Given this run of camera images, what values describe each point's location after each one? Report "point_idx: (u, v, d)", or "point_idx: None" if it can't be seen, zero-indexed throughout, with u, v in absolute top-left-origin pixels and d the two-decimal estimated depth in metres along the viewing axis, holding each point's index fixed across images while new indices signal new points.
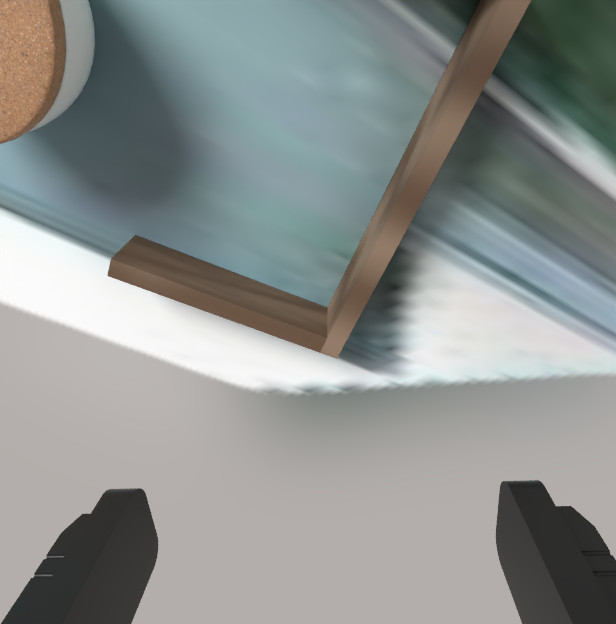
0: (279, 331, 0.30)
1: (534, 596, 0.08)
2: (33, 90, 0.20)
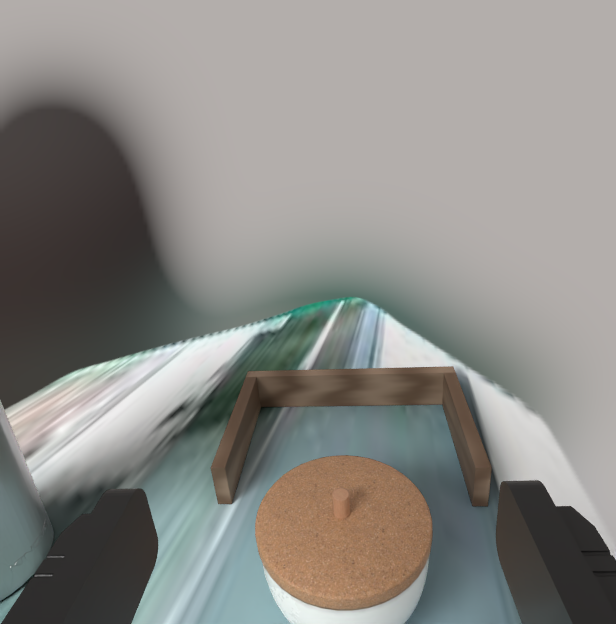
0: (456, 388, 0.46)
1: (534, 596, 0.08)
2: (361, 460, 0.33)
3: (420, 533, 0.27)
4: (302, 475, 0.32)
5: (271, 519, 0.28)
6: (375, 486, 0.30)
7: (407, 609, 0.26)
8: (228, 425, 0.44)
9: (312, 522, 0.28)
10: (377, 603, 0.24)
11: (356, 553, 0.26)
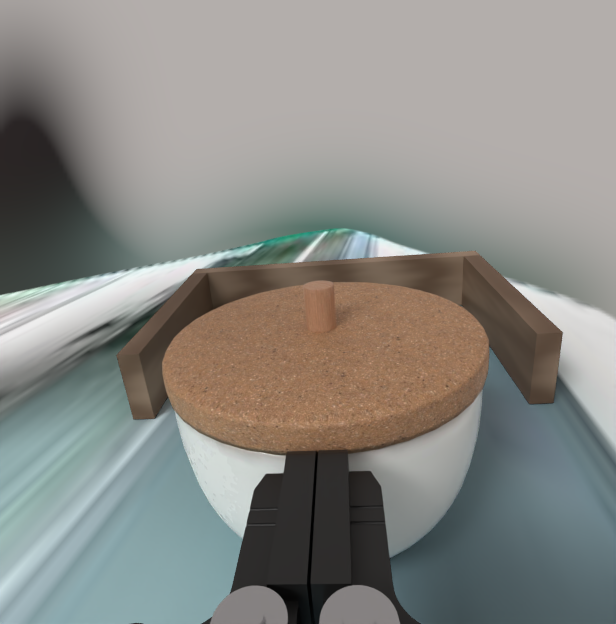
0: (485, 267, 0.33)
1: None
2: (353, 283, 0.20)
3: (467, 338, 0.14)
4: (256, 300, 0.19)
5: (195, 341, 0.16)
6: (379, 300, 0.18)
7: (451, 475, 0.13)
8: (156, 314, 0.29)
9: (266, 338, 0.15)
10: (395, 438, 0.11)
11: (349, 364, 0.13)
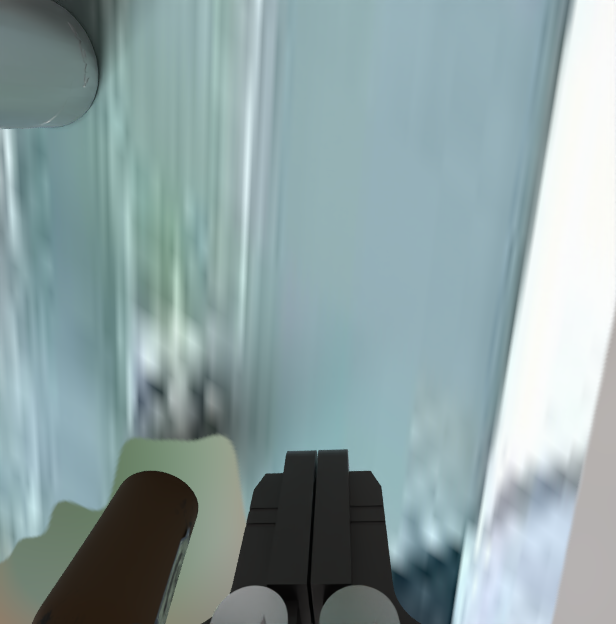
0: None
1: None
2: None
3: None
4: None
5: None
6: None
7: None
8: None
9: None
10: None
11: None
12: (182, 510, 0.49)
